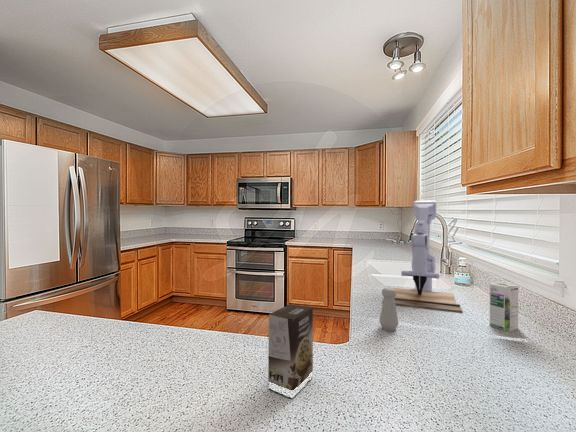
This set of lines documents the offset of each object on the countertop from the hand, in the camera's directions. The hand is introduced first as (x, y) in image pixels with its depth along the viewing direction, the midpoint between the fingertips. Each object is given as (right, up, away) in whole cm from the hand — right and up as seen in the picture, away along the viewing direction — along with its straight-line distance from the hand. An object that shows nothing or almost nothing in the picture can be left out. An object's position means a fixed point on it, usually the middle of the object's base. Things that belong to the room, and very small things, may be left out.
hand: (419, 293), depth 123 cm
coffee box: (-56, -4, -60) cm, 82 cm away
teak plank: (0, -2, -1) cm, 2 cm away
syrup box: (+13, -3, -31) cm, 33 cm away
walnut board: (-4, -3, -9) cm, 10 cm away
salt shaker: (-24, -3, -30) cm, 39 cm away
